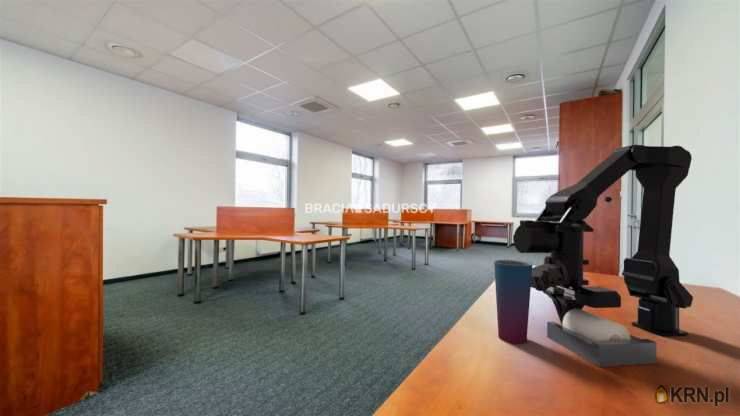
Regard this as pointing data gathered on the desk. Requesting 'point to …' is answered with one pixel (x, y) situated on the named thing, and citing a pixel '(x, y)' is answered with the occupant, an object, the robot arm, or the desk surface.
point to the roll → (593, 326)
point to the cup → (513, 299)
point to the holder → (605, 348)
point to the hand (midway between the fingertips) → (565, 328)
